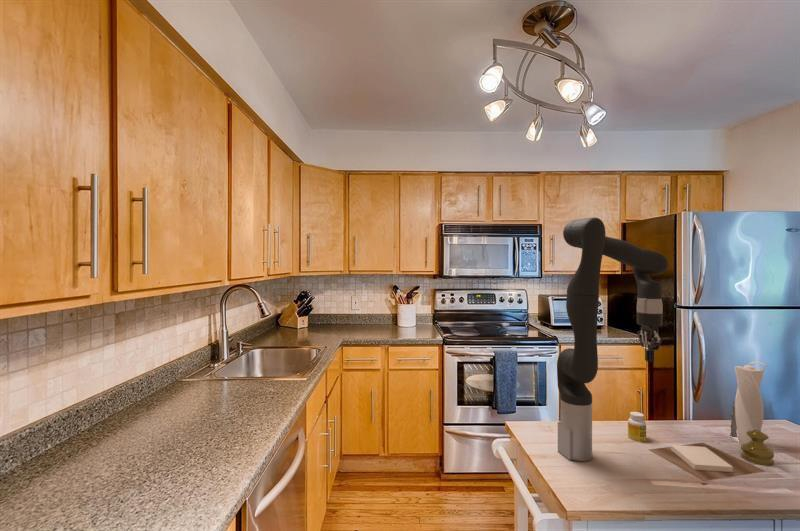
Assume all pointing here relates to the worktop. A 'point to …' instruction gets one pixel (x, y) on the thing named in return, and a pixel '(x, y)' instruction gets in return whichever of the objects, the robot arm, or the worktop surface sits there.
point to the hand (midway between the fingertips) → (649, 361)
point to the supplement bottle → (637, 427)
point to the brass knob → (757, 449)
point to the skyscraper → (747, 402)
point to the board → (737, 464)
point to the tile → (701, 458)
